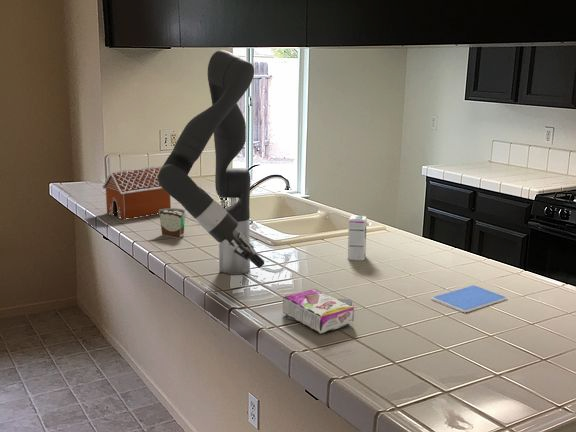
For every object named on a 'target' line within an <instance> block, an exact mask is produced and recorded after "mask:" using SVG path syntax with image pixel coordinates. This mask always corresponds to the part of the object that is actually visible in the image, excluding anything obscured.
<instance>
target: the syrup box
mask: <svg viewBox="0 0 576 432" xmlns="http://www.w3.org/2000/svg"><path fill="white" fill-rule="evenodd" d="M347 233H348V235H347V236H348V237H347V241H348V242H347V259H348V260H349V261H350V260H352V261H363V262H364V260H365V258H366V253H367V250H366V249H367V216H366V215H360V214H359V215H358V214H356V215H350V217H349V218H348V230H347Z"/></svg>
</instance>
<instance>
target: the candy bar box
mask: <svg viewBox="0 0 576 432" xmlns="http://www.w3.org/2000/svg"><path fill="white" fill-rule="evenodd" d="M335 298H336V297H335ZM335 298H334V297H333V296H332V295H328V294H327V293H325V292H322V291H320V290H318V289H316V288H312V289H309V290H305V291H301V292H298V293H294V294H293V293H292V294H289V295H285V296H283V297H282V313H283V314H284V315H287V316H290V317H292V318H294V319H295V320H294V321H297V322H299V323H301V324H302V325H305V326H306V327H308V328H310V329H312V330H313V331H315V332H317V333H319V334H323V333H327V332H330V331H331V332H332V331H334V330H337V329H341V328H345V327H347V326H351V325H353V324H354V318H355V317H354V316H355V315H354V314H355V307H354V306H353V305H351V306H350V305H348V304H346V303H344V302H342V301H340V300H338V299H339V298H336V299H335Z"/></svg>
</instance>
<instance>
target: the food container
mask: <svg viewBox="0 0 576 432" xmlns="http://www.w3.org/2000/svg"><path fill="white" fill-rule="evenodd" d="M157 215H159V223H160V230H161V236H164V235H165V236H164V237H168V236H169V238H174V239H179V240H181V239H183V238H184V236H185V224H186V223H185V220H186V218H188V217H187V212H186V209H185V210H184V209H183V208H175V207H171V208H166V209H160V210H159V213H158V214H157Z"/></svg>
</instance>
